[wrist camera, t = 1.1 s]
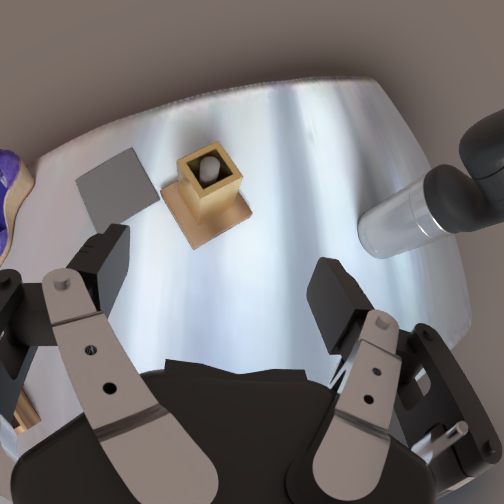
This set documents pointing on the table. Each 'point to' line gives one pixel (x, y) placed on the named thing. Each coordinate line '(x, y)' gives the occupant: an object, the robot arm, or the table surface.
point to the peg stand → (215, 225)
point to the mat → (116, 190)
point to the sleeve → (214, 196)
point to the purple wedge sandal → (11, 195)
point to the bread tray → (25, 414)
